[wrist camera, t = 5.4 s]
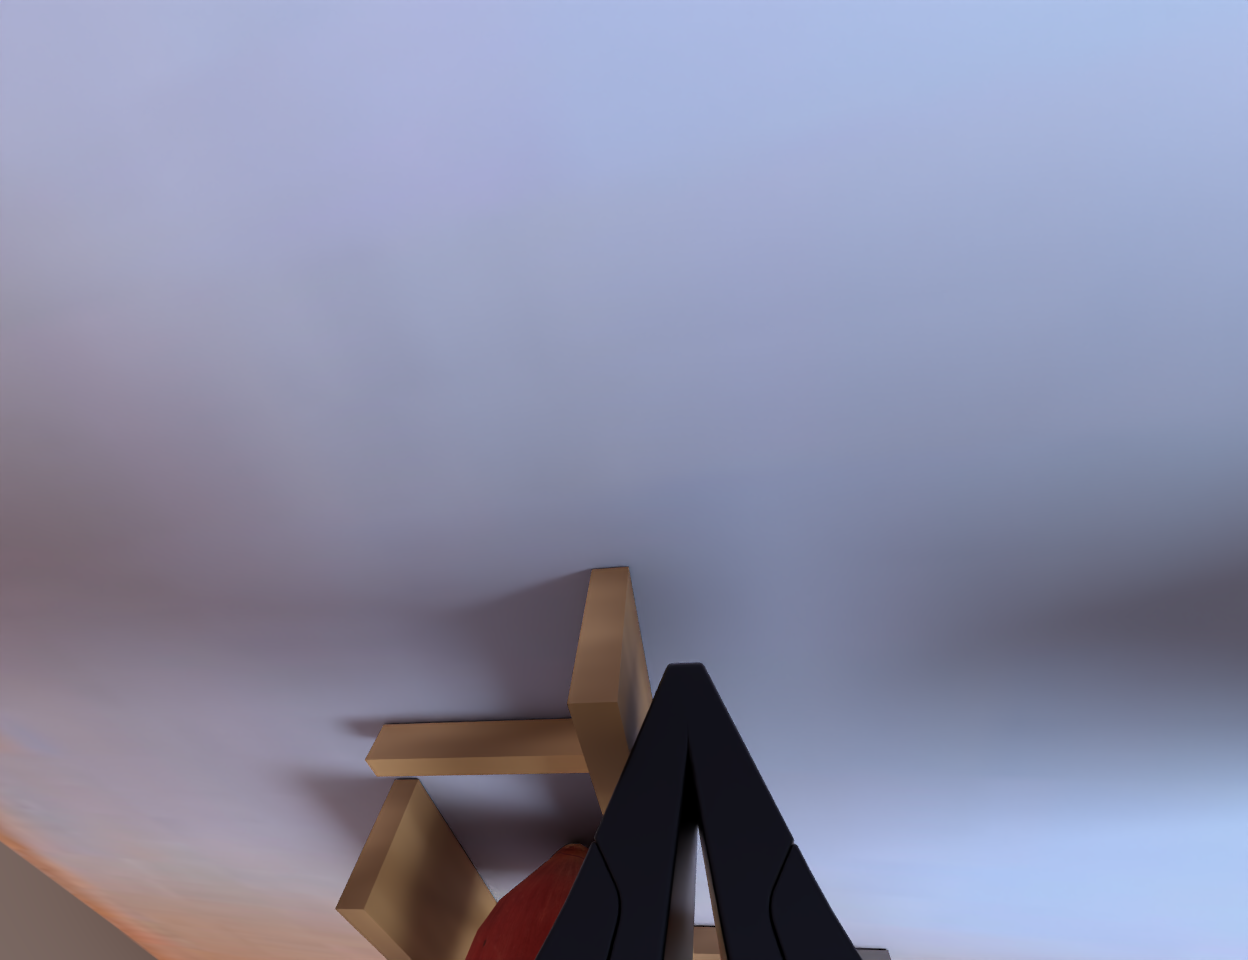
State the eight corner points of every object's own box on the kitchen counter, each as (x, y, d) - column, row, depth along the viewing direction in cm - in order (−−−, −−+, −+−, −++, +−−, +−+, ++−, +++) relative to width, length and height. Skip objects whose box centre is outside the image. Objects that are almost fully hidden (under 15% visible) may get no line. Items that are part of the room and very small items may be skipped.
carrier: (628, 566, 10) (616, 701, 7) (691, 917, 19) (697, 1039, 16) (268, 592, 11) (140, 719, 8) (485, 913, 20) (457, 1027, 17)
